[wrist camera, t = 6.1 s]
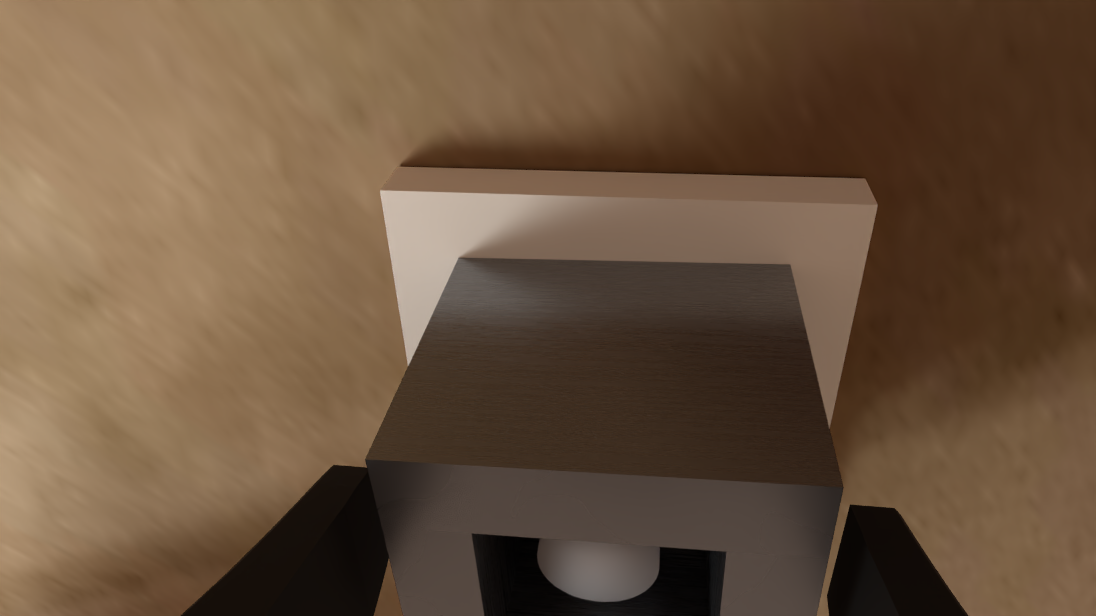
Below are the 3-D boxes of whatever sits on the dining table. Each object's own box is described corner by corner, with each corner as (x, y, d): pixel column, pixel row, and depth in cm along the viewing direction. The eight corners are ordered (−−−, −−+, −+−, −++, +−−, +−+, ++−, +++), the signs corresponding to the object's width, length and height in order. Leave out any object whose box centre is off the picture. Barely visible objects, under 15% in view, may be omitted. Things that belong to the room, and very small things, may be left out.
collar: (759, 504, 16) (787, 753, 12) (488, 487, 17) (427, 715, 13) (790, 264, 13) (843, 487, 9) (458, 257, 14) (365, 459, 10)
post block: (797, 514, 17) (834, 741, 13) (443, 486, 18) (376, 689, 14) (865, 178, 13) (952, 360, 9) (397, 166, 14) (281, 324, 10)
